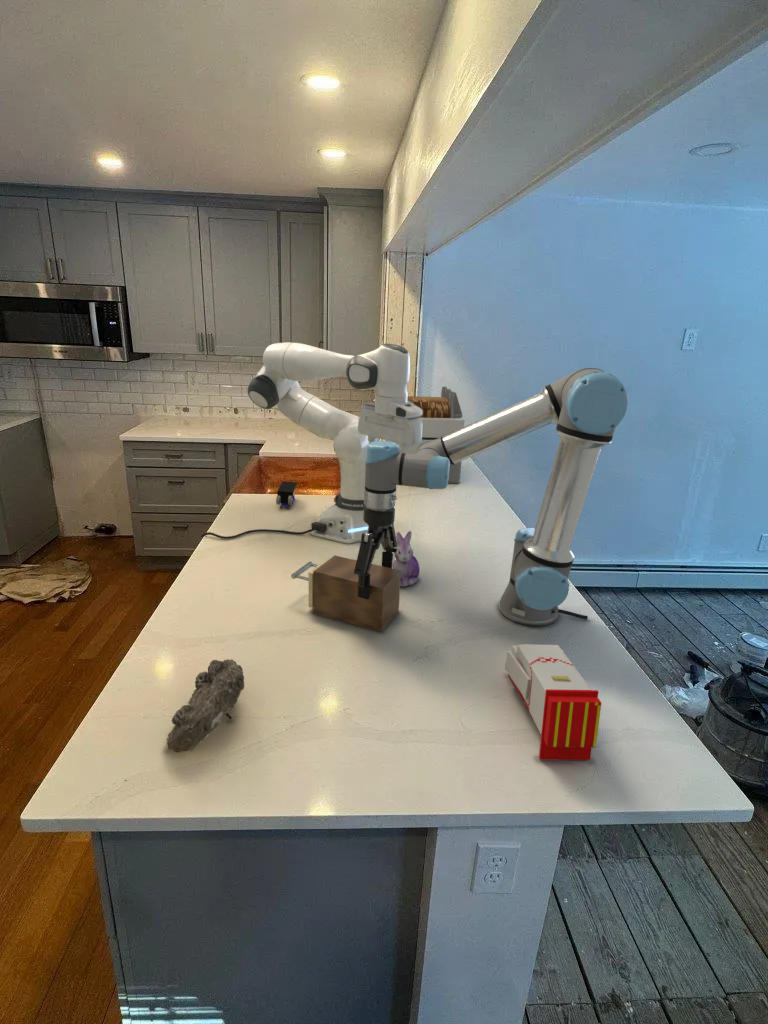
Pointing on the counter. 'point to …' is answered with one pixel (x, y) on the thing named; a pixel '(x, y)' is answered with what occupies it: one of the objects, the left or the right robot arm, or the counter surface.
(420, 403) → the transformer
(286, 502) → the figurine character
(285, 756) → the counter surface
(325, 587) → the cabinet
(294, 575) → the drawer
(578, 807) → the counter surface
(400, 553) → the figurine
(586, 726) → the toy
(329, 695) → the counter surface
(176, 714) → the fossil
